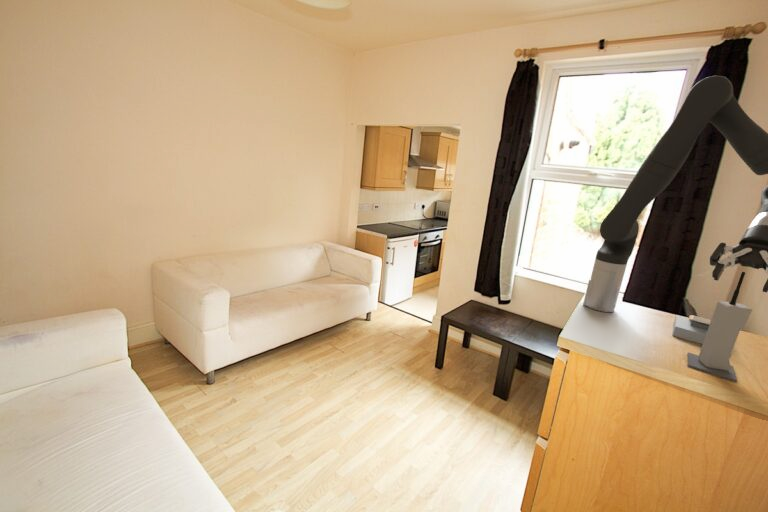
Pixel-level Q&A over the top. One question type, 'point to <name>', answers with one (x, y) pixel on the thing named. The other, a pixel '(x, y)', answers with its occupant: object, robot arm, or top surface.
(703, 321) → the block
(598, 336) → the top surface
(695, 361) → the rubber mat
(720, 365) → the vintage mobile phone
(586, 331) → the top surface
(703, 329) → the block
